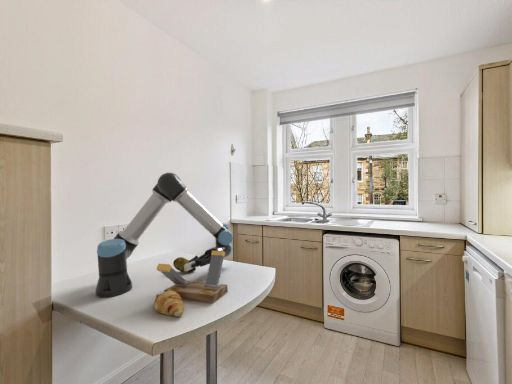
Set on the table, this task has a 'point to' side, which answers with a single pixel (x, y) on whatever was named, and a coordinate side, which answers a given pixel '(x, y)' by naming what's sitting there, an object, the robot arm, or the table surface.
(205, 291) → the wooden base board
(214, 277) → the lever
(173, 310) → the croissant
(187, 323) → the table surface
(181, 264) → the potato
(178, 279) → the lever
